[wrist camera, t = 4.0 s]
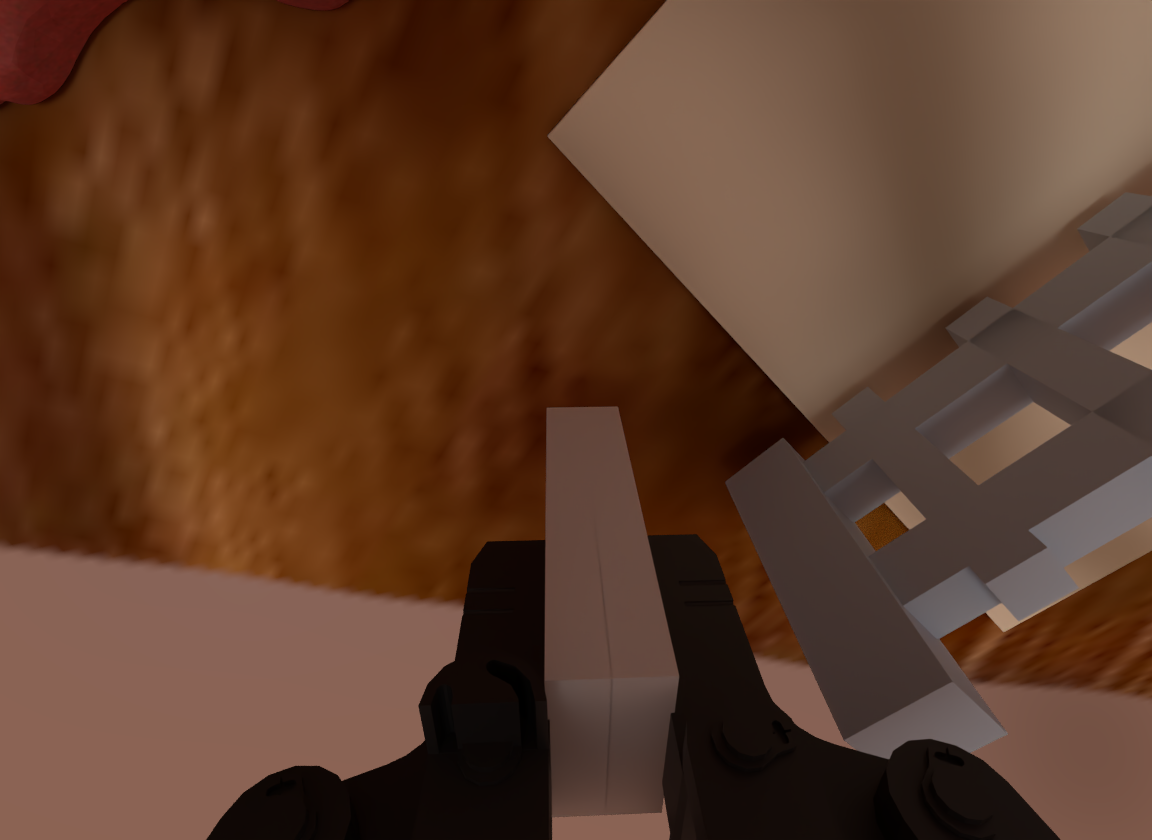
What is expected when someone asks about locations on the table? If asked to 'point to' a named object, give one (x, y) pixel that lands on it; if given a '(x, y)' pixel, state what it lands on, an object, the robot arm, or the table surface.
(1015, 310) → the gray castle wall
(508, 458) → the table surface
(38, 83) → the stacking bear
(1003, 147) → the board
